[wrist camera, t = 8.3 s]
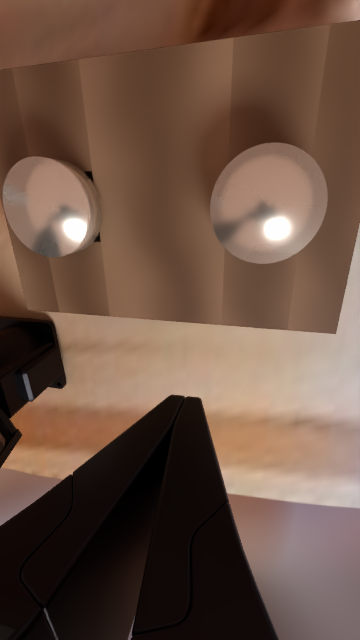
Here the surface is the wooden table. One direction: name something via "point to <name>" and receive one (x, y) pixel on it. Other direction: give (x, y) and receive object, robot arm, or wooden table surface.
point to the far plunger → (51, 206)
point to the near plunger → (268, 203)
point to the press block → (191, 174)
